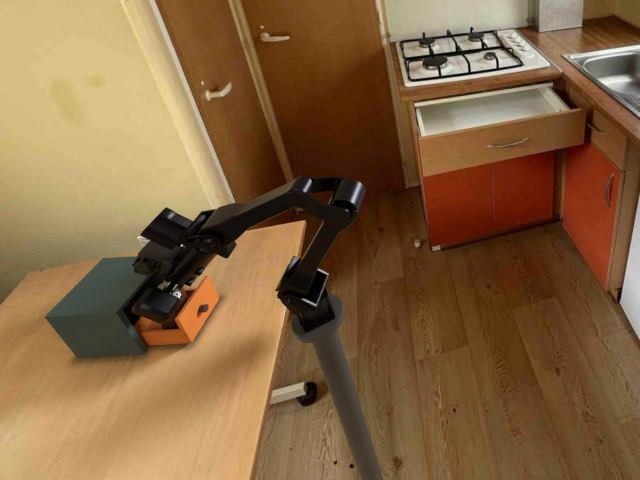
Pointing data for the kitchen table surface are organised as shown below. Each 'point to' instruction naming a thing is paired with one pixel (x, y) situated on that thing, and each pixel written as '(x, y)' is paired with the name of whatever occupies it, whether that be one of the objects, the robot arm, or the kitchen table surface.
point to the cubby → (103, 310)
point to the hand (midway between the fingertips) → (162, 294)
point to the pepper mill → (171, 320)
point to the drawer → (182, 317)
